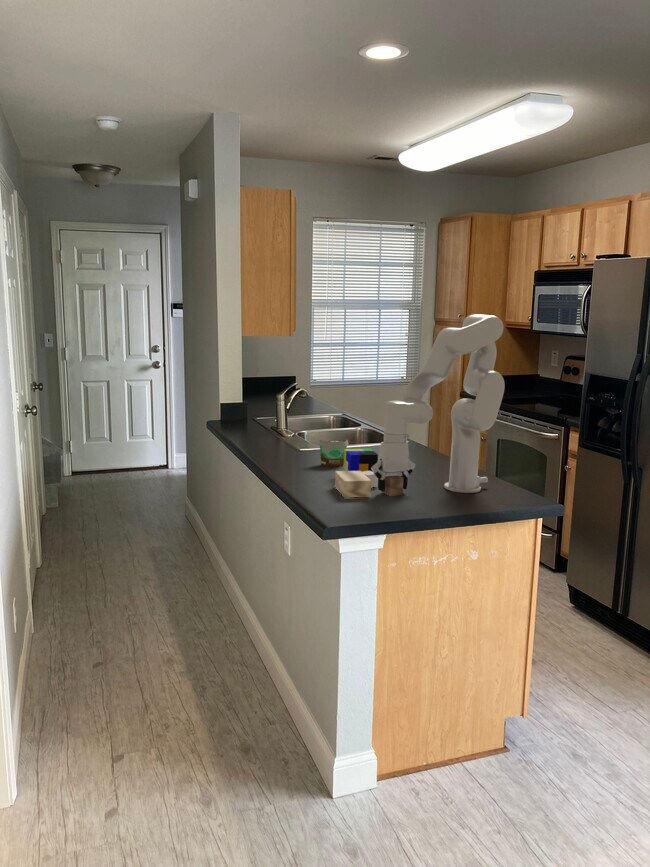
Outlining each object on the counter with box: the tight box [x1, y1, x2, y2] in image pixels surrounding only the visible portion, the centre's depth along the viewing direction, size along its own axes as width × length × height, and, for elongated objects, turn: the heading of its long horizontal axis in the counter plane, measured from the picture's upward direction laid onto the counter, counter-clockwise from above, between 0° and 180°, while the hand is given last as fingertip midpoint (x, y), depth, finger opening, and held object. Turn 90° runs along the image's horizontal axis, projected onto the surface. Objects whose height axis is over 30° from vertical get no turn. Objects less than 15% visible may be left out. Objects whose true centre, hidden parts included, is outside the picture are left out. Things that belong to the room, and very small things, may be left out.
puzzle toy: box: [342, 448, 379, 472], centre depth 258 cm, size 10×10×10 cm
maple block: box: [334, 470, 372, 498], centre depth 239 cm, size 9×14×6 cm, turn 11°
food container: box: [318, 438, 349, 468], centre depth 277 cm, size 12×6×10 cm, turn 112°
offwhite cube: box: [363, 471, 378, 489], centre depth 248 cm, size 5×5×5 cm
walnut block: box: [382, 473, 404, 497], centre depth 239 cm, size 5×5×6 cm
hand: (392, 489), depth 240 cm, fingers open, 8 cm apart
